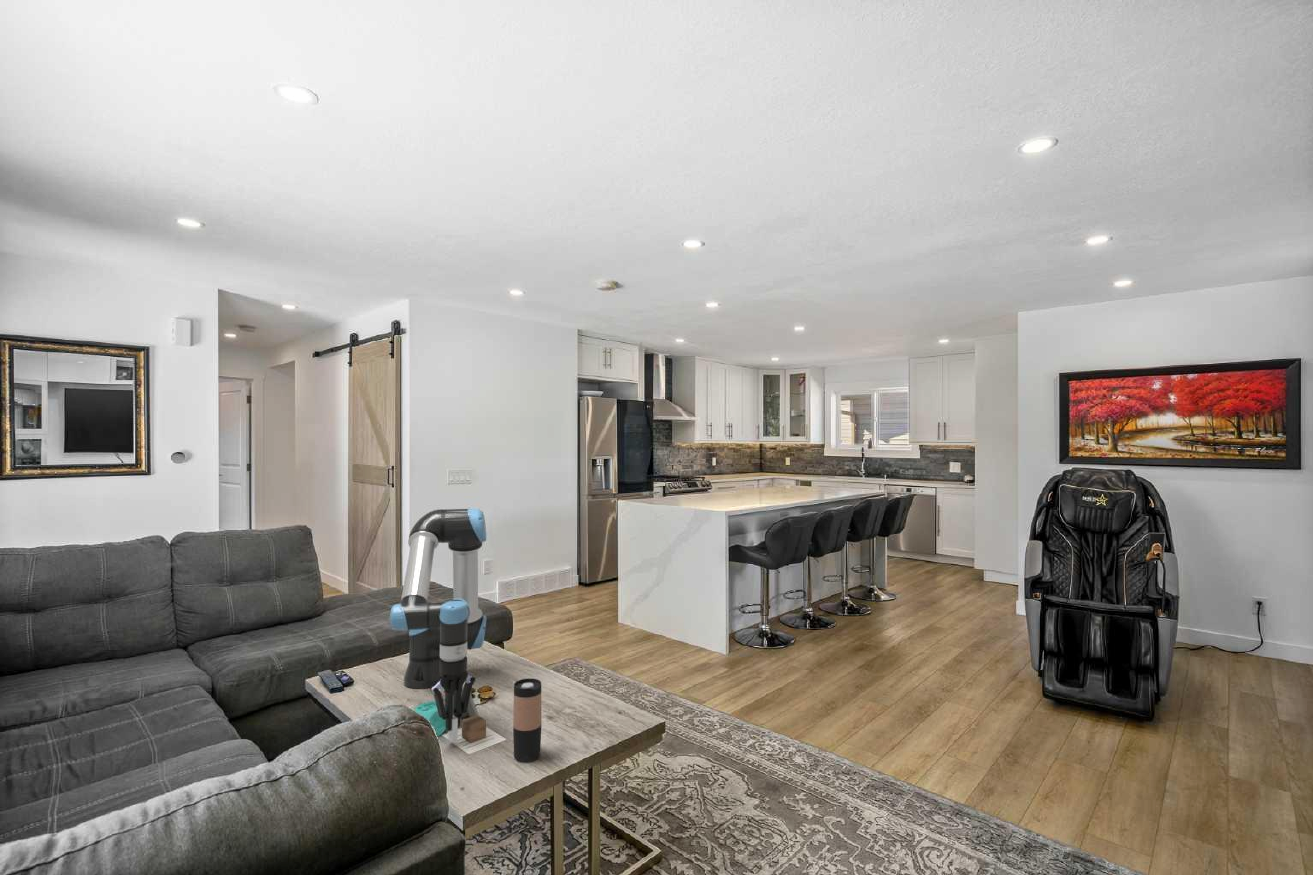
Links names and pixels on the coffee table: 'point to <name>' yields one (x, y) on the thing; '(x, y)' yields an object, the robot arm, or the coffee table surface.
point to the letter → (479, 744)
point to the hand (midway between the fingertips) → (452, 740)
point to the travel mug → (527, 720)
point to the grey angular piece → (470, 707)
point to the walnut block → (474, 728)
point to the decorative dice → (432, 716)
